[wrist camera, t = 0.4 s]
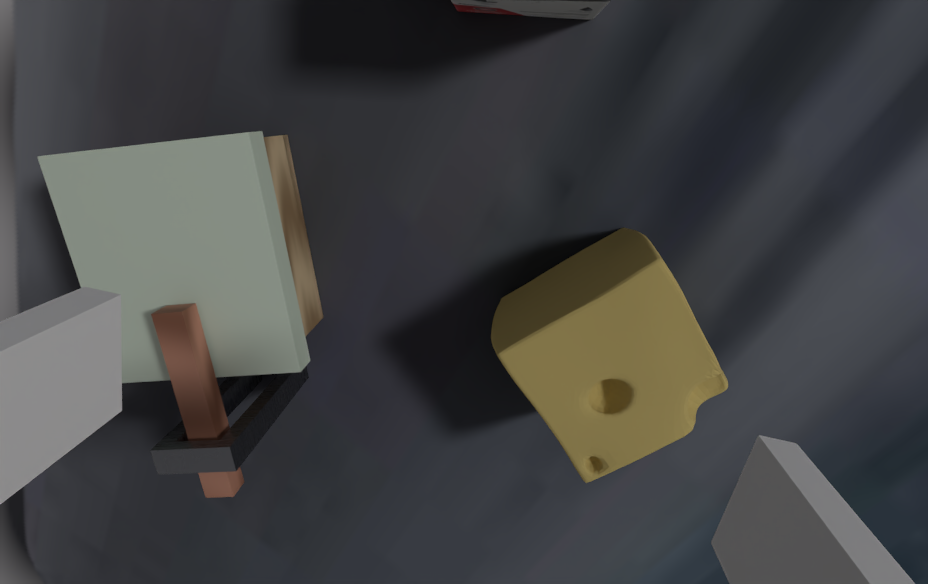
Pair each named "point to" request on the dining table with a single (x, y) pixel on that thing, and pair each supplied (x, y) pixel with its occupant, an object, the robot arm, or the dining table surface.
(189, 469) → the keeper
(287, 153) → the wooden box
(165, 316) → the brown flat bar
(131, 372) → the lid
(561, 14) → the ink box
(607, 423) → the cheese
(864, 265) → the dining table surface
